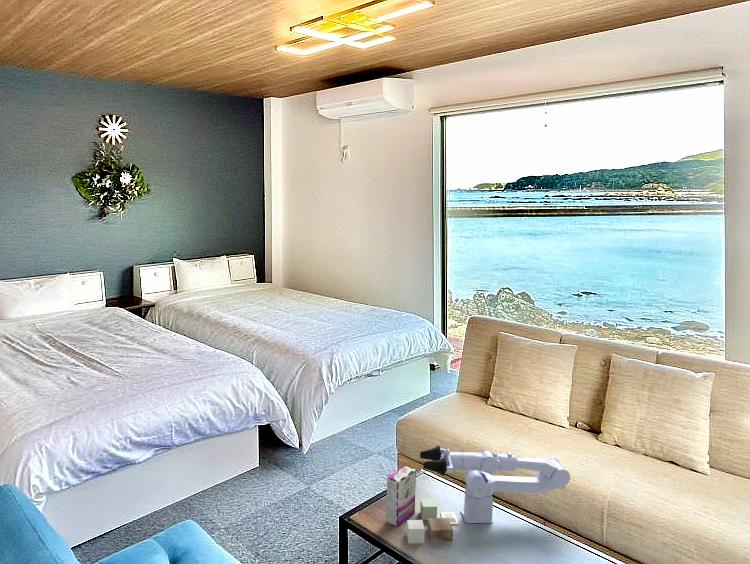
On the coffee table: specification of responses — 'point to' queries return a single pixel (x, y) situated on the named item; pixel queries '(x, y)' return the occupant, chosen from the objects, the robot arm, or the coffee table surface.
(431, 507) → the sage cube
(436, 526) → the walnut block
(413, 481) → the candy bar box
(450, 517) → the card
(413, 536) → the pale grey cube
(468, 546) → the coffee table surface
